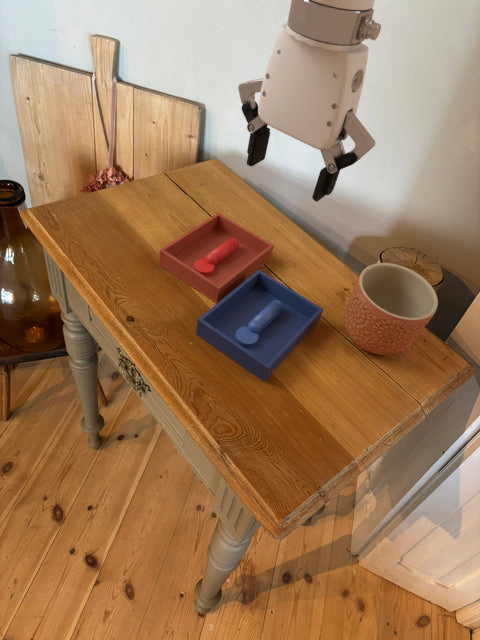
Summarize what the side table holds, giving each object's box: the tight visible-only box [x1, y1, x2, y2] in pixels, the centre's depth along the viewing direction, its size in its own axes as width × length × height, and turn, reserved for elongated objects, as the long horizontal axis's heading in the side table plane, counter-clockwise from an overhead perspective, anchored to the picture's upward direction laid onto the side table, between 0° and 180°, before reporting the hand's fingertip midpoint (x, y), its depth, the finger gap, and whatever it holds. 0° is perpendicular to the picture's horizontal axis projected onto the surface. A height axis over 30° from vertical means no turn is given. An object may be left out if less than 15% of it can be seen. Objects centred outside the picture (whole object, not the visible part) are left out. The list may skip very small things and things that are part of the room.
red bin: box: [158, 212, 275, 304], centre depth 83 cm, size 13×16×4 cm
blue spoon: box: [235, 300, 283, 348], centre depth 74 cm, size 11×4×2 cm, turn 143°
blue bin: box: [195, 269, 324, 382], centre depth 74 cm, size 13×16×4 cm
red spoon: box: [194, 238, 239, 276], centre depth 83 cm, size 11×4×2 cm, turn 143°
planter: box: [343, 262, 439, 356], centre depth 74 cm, size 12×12×11 cm
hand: (287, 178), depth 57 cm, fingers open, 9 cm apart
